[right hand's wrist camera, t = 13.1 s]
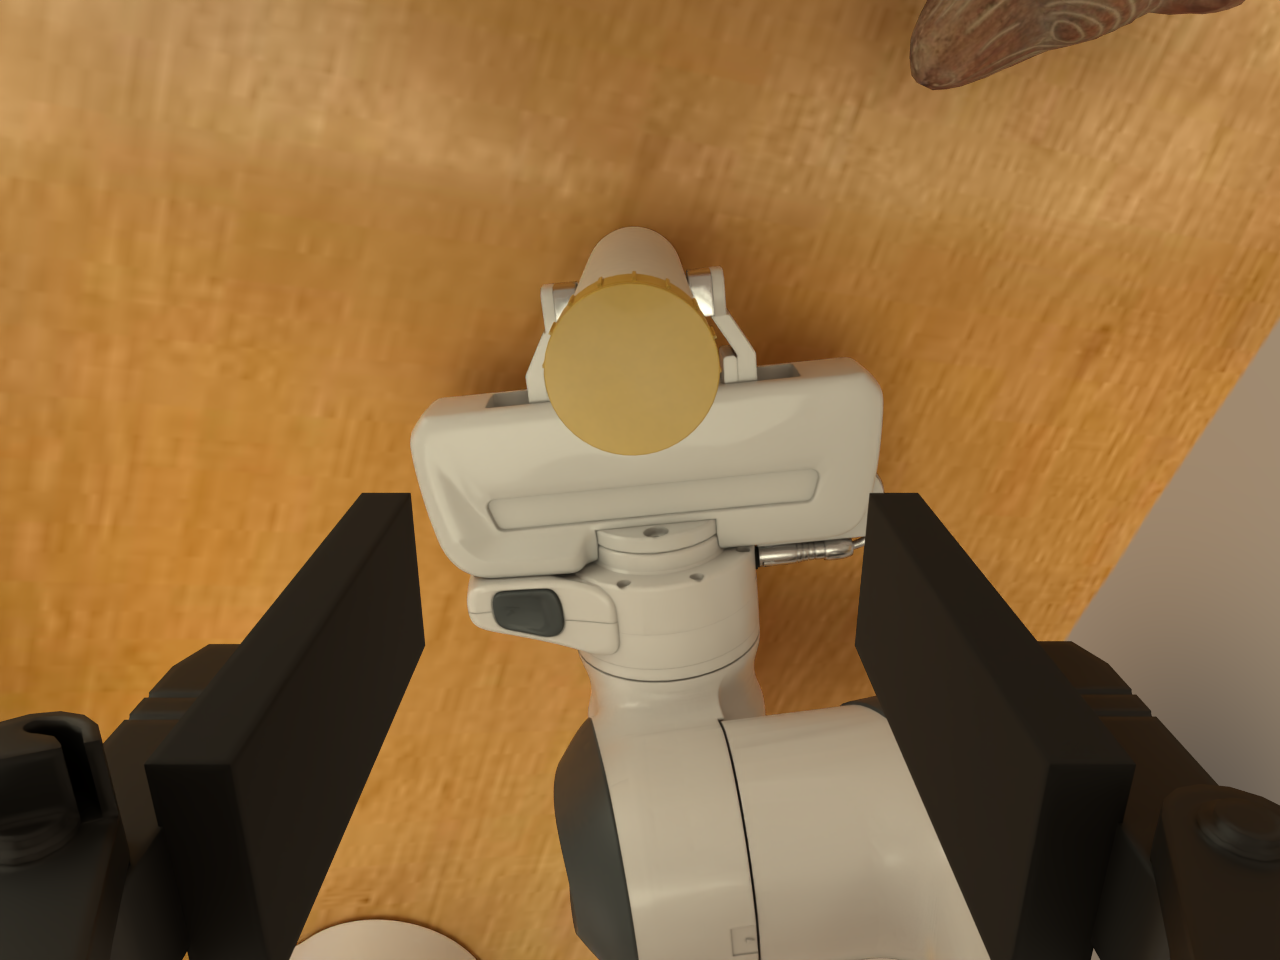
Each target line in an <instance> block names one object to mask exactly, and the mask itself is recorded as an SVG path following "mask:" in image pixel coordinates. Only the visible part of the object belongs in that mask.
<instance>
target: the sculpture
mask: <svg viewBox="0 0 1280 960" xmlns="http://www.w3.org/2000/svg"><path fill="white" fill-rule="evenodd" d="M1244 1H1245V0H927V2H926V4H925V6H924V8H923V10H922V12H921V14H920V16H919V19H918V21H917V23H916V26H915V28H914V30H913V33H912V37H911V44H910V66H911V73H912V76H913V78H914V79H915V80H916V82H917V83H919V84H921V85H923V86H925V87H927V88H930V89H932V90H940V89H950V88H955V87H960V86H963V85H966V84H969V83H971V82H974V81H977V80H980V79H983V78H986V77H988V76H990V75H992V74H994V73H996V72H999V71H1001V70H1003V69H1005V68H1008V67H1011V66H1013V65H1015V64H1017V63H1020V62H1022V61H1024V60H1026V59H1029V58H1031V57H1033V56H1036V55H1038V54H1040V53H1043V52H1045V51H1048V50H1052V49H1057V48H1062V47H1067V46H1070V45H1074V44H1078V43H1082V42H1086V41H1089V40H1093V39H1097V38H1098V37H1100V36H1102V35H1104V34H1107V33H1110V32H1113V31H1115V30H1116V29H1118V28H1120V27H1122V26H1124V25H1127V24H1129V23H1131V22H1133V21H1134V20H1135V19H1136V18H1138V17H1140V16H1142V15H1145V14H1147V13H1149V12H1150V13H1159V14H1168V15H1171V14H1188V13H1192V14H1207V13H1214V12H1219V11H1223V10H1227V9H1230V8H1233V7H1235V6H1238V5H1240V4H1242V3H1243V2H1244Z"/></svg>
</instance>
